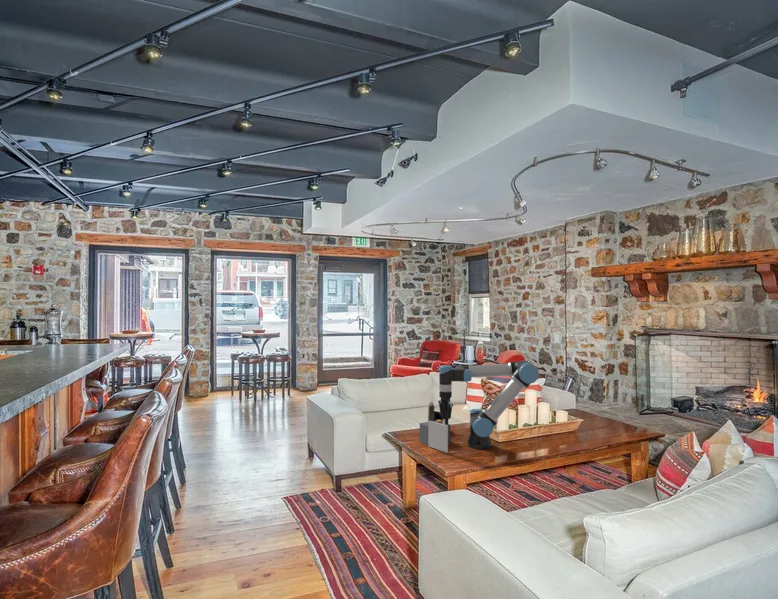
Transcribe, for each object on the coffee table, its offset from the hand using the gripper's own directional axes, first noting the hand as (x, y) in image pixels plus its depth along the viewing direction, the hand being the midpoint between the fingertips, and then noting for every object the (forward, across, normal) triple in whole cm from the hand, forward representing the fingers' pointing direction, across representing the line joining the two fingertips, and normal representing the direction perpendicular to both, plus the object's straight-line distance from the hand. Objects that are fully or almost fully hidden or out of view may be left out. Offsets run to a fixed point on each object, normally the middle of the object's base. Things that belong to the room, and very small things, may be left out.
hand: (445, 429), depth 285 cm
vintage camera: (+14, +38, -20) cm, 45 cm away
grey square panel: (+13, +4, +3) cm, 14 cm away
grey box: (+13, +18, -4) cm, 23 cm away
